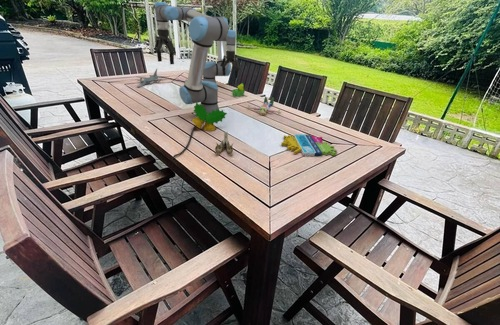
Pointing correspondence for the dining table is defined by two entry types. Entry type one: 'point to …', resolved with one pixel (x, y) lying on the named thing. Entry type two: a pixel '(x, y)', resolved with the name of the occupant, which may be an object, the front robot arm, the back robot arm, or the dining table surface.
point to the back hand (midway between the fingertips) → (229, 76)
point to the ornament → (207, 117)
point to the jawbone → (224, 145)
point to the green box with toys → (239, 91)
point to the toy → (265, 107)
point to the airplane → (149, 79)
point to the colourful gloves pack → (308, 145)
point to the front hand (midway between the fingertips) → (165, 62)
